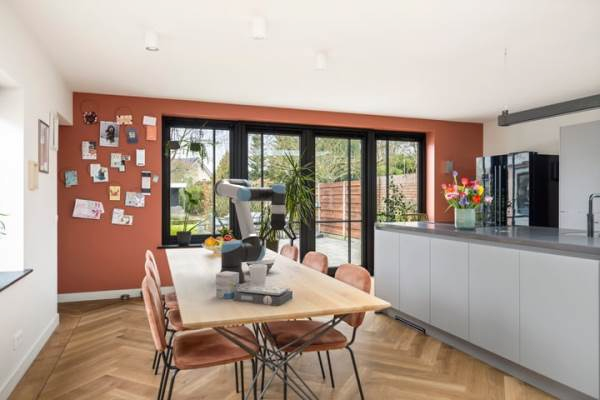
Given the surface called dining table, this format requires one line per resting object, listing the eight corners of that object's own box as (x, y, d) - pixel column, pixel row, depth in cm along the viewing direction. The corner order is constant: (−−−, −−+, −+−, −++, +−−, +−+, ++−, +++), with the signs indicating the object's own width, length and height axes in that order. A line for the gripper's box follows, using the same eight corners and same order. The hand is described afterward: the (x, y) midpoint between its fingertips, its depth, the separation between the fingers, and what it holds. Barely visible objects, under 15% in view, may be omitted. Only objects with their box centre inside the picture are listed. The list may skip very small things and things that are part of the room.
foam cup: (267, 292, 215) (267, 267, 215) (249, 292, 214) (249, 267, 214) (265, 288, 225) (266, 264, 225) (248, 288, 223) (248, 264, 223)
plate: (236, 290, 199) (236, 288, 199) (250, 285, 211) (250, 283, 211) (278, 295, 191) (278, 293, 191) (289, 289, 203) (289, 287, 203)
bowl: (281, 271, 272) (281, 257, 272) (263, 276, 256) (263, 261, 256) (257, 268, 283) (257, 254, 283) (238, 273, 266) (238, 258, 266)
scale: (233, 301, 199) (233, 292, 198) (249, 294, 213) (249, 285, 213) (279, 306, 190) (279, 297, 190) (292, 298, 204) (292, 290, 204)
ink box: (239, 295, 209) (239, 272, 208) (229, 299, 201) (229, 275, 201) (225, 293, 212) (225, 270, 212) (215, 297, 205) (215, 273, 204)
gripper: (254, 212, 219) (253, 253, 220) (301, 213, 220) (300, 253, 221) (255, 212, 227) (255, 250, 228) (301, 212, 227) (300, 251, 228)
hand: (277, 252), depth 224 cm, fingers open, 13 cm apart
